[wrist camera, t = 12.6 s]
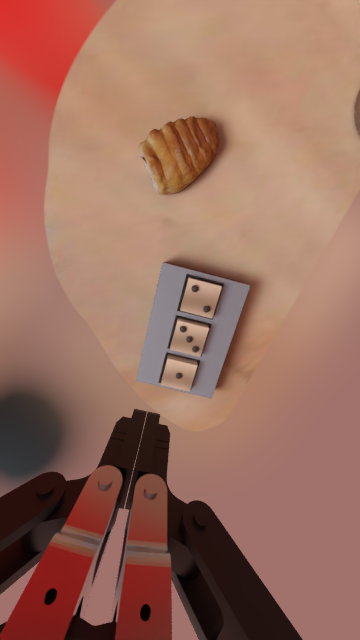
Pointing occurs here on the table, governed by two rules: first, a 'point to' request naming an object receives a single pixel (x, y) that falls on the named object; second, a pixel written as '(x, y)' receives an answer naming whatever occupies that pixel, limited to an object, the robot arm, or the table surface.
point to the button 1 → (179, 372)
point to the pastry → (179, 152)
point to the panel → (169, 310)
